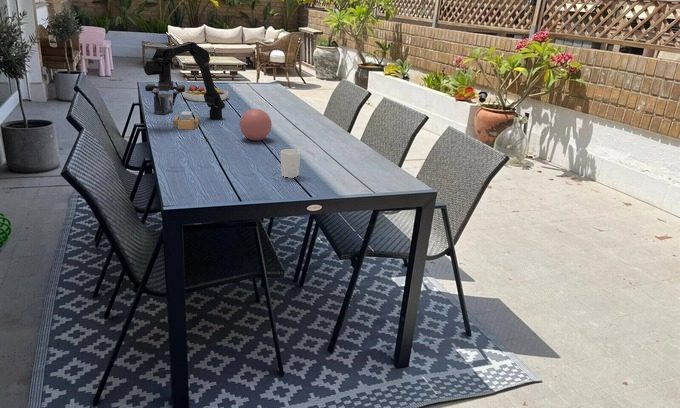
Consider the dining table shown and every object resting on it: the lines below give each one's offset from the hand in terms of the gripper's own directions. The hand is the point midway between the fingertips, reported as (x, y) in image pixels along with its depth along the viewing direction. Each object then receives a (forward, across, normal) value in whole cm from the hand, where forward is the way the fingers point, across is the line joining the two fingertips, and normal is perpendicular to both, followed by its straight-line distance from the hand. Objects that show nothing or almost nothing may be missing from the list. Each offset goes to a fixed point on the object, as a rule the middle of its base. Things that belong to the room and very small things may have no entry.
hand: (166, 105), depth 273 cm
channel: (+12, +8, +10) cm, 18 cm away
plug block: (+12, +8, +12) cm, 19 cm away
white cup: (+12, +56, -78) cm, 97 cm away
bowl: (+12, +14, +89) cm, 91 cm away
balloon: (+12, +44, -19) cm, 49 cm away
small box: (+12, -6, +39) cm, 41 cm away
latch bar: (+12, +9, 0) cm, 15 cm away
